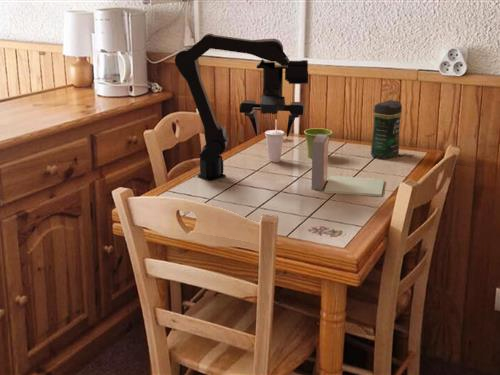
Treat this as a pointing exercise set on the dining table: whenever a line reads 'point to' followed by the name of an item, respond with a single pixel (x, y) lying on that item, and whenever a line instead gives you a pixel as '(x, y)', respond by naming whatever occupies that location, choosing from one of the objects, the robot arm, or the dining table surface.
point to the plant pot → (311, 136)
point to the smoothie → (274, 143)
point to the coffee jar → (386, 129)
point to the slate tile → (319, 161)
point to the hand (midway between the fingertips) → (272, 135)
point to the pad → (354, 186)
